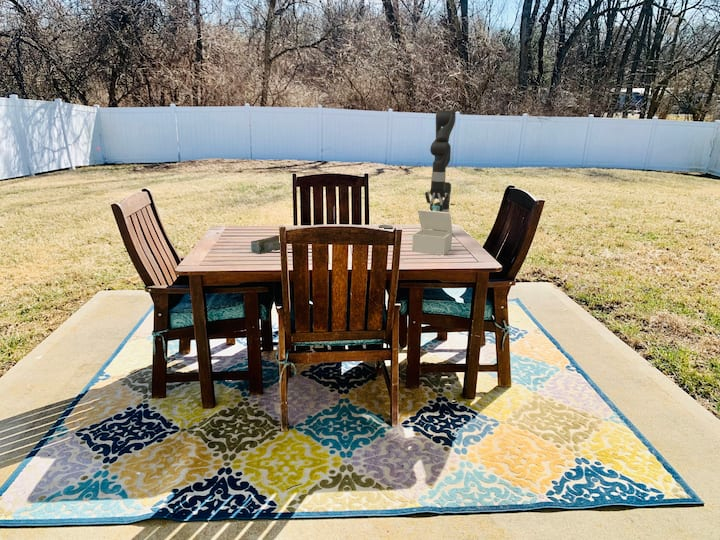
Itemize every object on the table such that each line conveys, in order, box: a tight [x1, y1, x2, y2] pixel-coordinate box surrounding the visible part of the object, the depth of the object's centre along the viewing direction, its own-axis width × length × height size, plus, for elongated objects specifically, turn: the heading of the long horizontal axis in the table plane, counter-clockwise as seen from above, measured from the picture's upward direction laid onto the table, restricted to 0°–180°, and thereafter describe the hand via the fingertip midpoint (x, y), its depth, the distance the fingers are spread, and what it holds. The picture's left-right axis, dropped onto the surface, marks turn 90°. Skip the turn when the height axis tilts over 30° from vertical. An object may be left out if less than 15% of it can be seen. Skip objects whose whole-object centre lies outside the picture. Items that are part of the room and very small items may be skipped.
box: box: [411, 228, 453, 256], centre depth 279 cm, size 15×18×10 cm
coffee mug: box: [377, 224, 394, 230], centre depth 292 cm, size 12×9×10 cm
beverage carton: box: [250, 235, 281, 255], centre depth 276 cm, size 8×19×7 cm, turn 138°
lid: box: [417, 204, 453, 233], centre depth 280 cm, size 15×18×6 cm
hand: (436, 211), depth 278 cm, fingers closed on lid, 4 cm apart
